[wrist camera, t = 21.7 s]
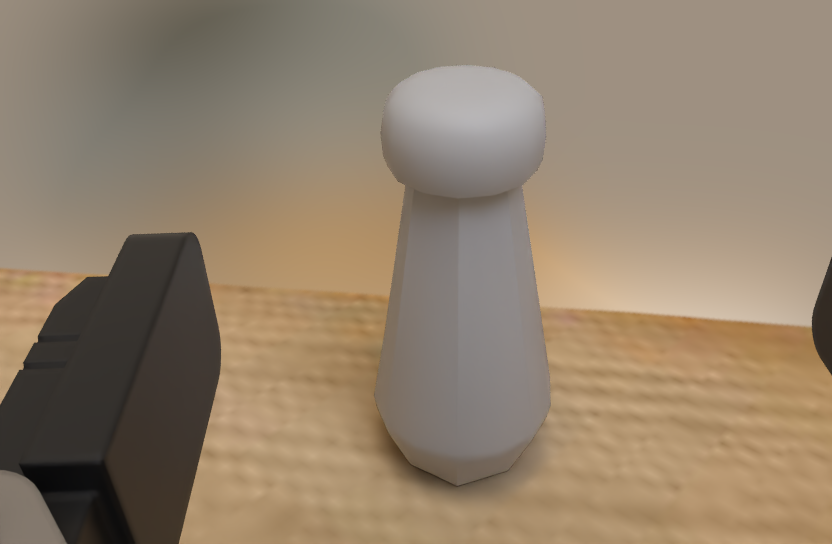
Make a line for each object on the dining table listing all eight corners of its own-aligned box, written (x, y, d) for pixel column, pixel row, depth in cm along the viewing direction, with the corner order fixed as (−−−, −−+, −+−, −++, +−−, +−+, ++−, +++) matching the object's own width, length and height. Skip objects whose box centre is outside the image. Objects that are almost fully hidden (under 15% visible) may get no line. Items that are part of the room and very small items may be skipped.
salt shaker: (481, 360, 31) (490, 28, 23) (581, 454, 27) (632, 91, 19) (348, 421, 28) (310, 72, 21) (437, 536, 24) (430, 155, 17)
